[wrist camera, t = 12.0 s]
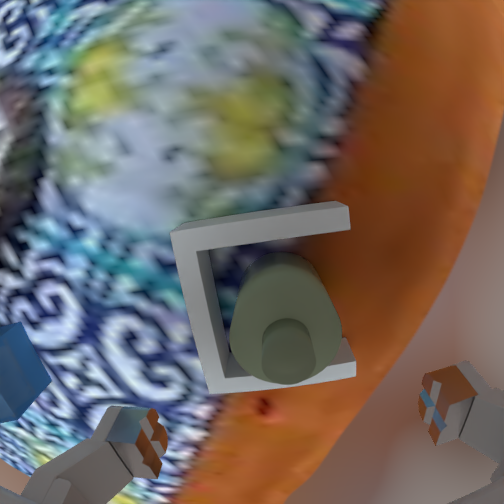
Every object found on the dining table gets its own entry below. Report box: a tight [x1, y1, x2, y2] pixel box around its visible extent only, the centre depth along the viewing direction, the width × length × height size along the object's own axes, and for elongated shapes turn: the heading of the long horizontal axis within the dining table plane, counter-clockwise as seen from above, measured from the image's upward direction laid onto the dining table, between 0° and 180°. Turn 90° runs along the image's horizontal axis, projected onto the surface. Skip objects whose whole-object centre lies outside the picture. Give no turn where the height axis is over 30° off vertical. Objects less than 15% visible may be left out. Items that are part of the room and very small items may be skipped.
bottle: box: [229, 252, 342, 385], centre depth 16 cm, size 5×5×8 cm
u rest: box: [170, 201, 356, 394], centre depth 19 cm, size 10×9×3 cm
